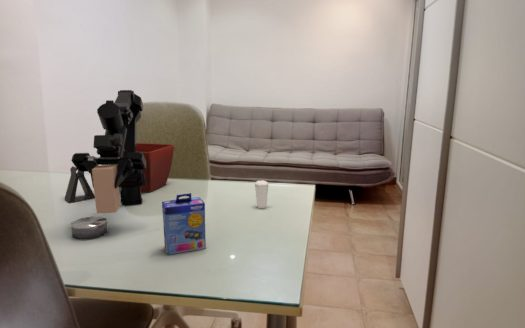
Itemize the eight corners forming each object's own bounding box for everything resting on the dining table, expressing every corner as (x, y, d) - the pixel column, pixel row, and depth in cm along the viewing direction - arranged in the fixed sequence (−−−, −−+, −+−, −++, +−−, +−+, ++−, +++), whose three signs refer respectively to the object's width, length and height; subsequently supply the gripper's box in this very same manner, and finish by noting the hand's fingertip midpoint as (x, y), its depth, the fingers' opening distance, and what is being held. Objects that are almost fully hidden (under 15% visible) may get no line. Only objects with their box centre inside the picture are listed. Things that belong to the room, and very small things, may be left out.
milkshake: (269, 209, 124) (269, 180, 122) (253, 208, 125) (253, 179, 123) (272, 205, 128) (271, 177, 127) (256, 204, 130) (256, 176, 128)
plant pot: (151, 195, 142) (148, 151, 139) (109, 192, 147) (105, 149, 144) (177, 183, 160) (175, 144, 157) (138, 181, 165) (135, 142, 162)
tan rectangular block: (120, 206, 106) (116, 164, 104) (116, 212, 101) (111, 168, 99) (101, 207, 105) (97, 165, 103) (96, 213, 101) (91, 169, 98)
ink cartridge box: (167, 256, 90) (163, 197, 87) (163, 247, 95) (159, 191, 92) (207, 248, 94) (205, 192, 91) (201, 241, 99) (199, 187, 96)
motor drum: (109, 226, 110) (108, 215, 109) (105, 238, 102) (104, 225, 101) (76, 229, 108) (74, 217, 107) (68, 241, 99) (67, 229, 99)
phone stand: (69, 203, 133) (65, 170, 131) (64, 199, 138) (60, 167, 136) (95, 198, 139) (92, 166, 137) (90, 195, 144) (87, 164, 141)
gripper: (70, 123, 102) (56, 172, 93) (140, 122, 103) (133, 171, 95) (84, 148, 111) (73, 194, 103) (149, 146, 112) (142, 192, 104)
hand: (104, 188), depth 101 cm, fingers closed on tan rectangular block, 5 cm apart
